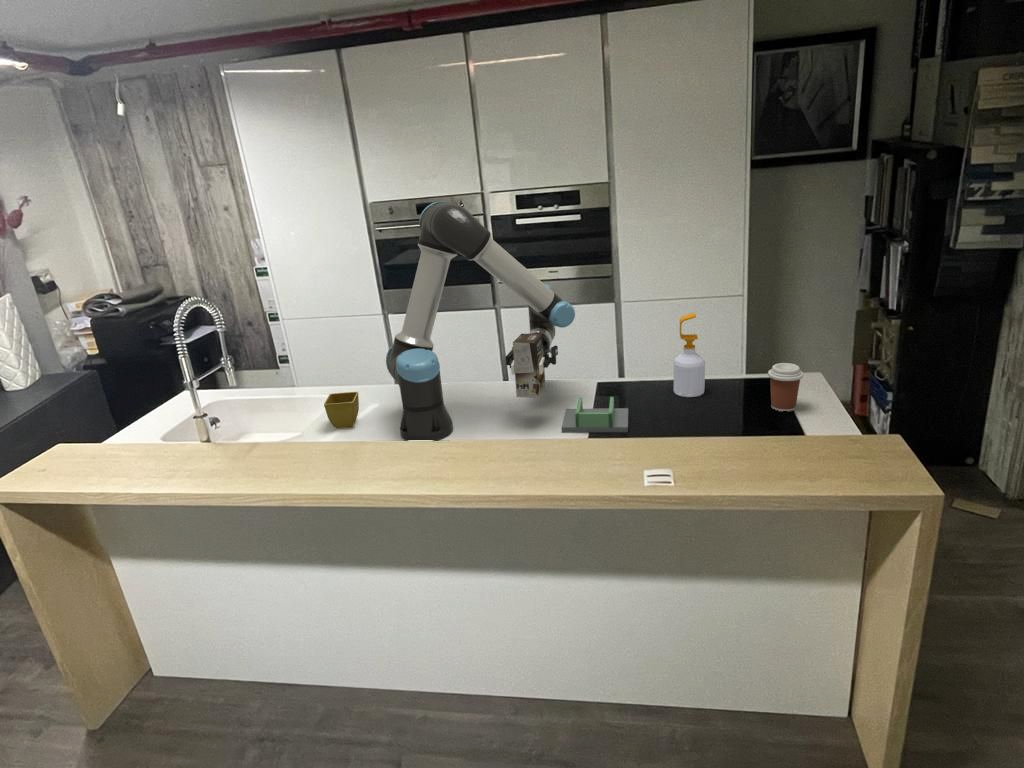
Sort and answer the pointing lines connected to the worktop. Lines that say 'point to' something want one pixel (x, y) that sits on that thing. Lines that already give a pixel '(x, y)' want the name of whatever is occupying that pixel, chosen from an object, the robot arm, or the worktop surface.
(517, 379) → the coffee box
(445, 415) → the robot arm
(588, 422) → the chute bracket
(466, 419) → the worktop surface
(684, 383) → the soap bottle
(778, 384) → the coffee cup
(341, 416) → the flower pot
